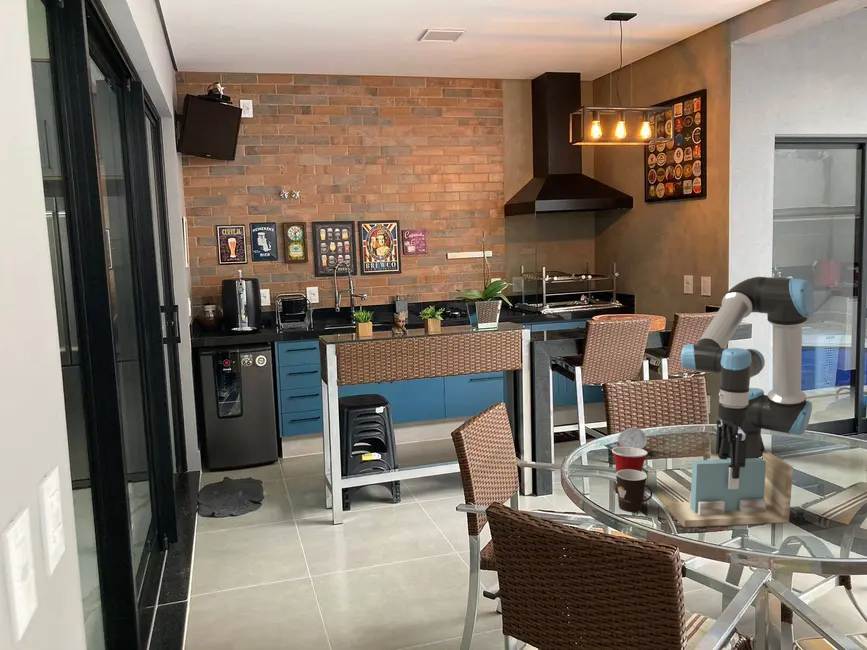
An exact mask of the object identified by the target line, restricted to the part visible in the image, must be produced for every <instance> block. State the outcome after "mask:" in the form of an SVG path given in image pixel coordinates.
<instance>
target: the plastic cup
mask: <svg viewBox="0 0 867 650" xmlns="http://www.w3.org/2000/svg"><path fill="white" fill-rule="evenodd" d="M611 451H612V454H613V460H614V463H615V470H616V471H615V474H616V473H617V472H618V471H620V470H628V469H629V470H637V471H641V472H643V467H644V463H645V460H646V457H647V456H648V451H647V450H646V451H645V450H643V449H639V448H634V447H617V446H616V447H613V448H612V449H611Z"/></svg>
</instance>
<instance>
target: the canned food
mask: <svg viewBox="0 0 867 650" xmlns="http://www.w3.org/2000/svg"><path fill="white" fill-rule="evenodd" d="M617 440H618V441H617V444H616V445H617V446H616V447H634V448H639V449H643V450H645V451H647V444H648V438H647V436H646V433H645V432H644V431H643V429H640V428H638V427H629V428H627V429H624V430H623V431H622V432H621V433H620V434H619V435H618V438H617Z"/></svg>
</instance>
